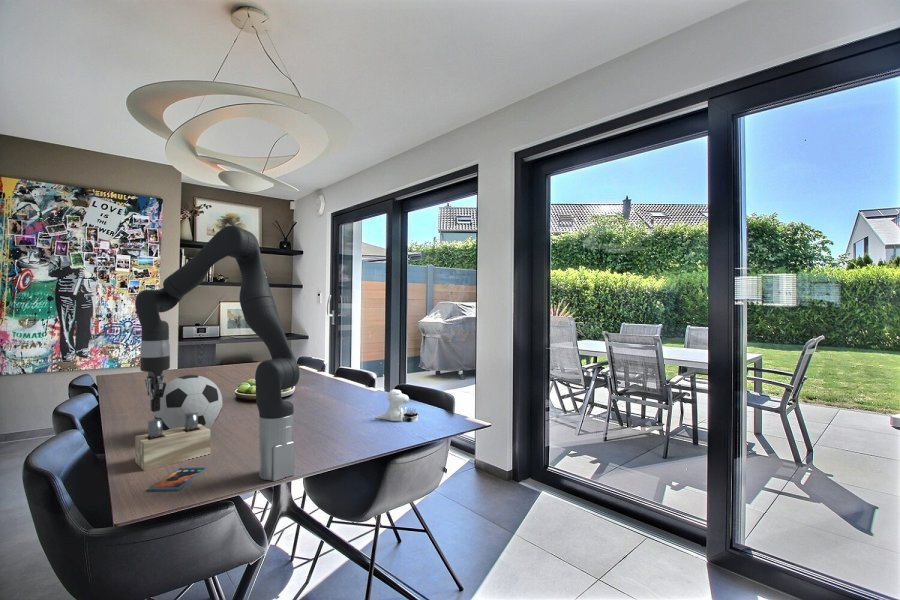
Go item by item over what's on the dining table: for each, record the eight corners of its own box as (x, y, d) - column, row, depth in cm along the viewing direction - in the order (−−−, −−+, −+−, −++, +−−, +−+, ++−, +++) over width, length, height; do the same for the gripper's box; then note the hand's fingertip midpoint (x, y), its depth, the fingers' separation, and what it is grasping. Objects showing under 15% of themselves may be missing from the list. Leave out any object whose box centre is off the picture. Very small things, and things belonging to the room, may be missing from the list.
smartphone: (207, 467, 129) (178, 488, 114) (207, 471, 129) (178, 493, 114) (179, 466, 129) (146, 487, 114) (179, 471, 129) (146, 492, 114)
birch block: (210, 454, 141) (210, 429, 141) (144, 470, 127) (144, 443, 127) (199, 447, 147) (199, 423, 147) (135, 462, 134) (135, 436, 134)
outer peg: (163, 443, 134) (163, 420, 134) (149, 446, 131) (149, 422, 131) (160, 440, 136) (160, 418, 136) (146, 443, 133) (146, 420, 133)
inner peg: (199, 435, 141) (199, 413, 141) (187, 438, 138) (186, 416, 138) (195, 433, 144) (195, 411, 143) (183, 435, 141) (183, 414, 141)
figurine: (415, 423, 176) (415, 392, 176) (373, 421, 178) (373, 391, 178) (420, 417, 184) (420, 388, 184) (379, 415, 187) (379, 386, 187)
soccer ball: (191, 447, 147) (191, 382, 147) (137, 442, 152) (136, 380, 151) (235, 427, 169) (235, 371, 169) (187, 424, 173) (186, 369, 173)
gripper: (176, 355, 132) (176, 412, 132) (163, 351, 141) (163, 404, 141) (146, 358, 126) (146, 417, 126) (135, 353, 135) (135, 409, 135)
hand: (155, 410), depth 134 cm, fingers closed
